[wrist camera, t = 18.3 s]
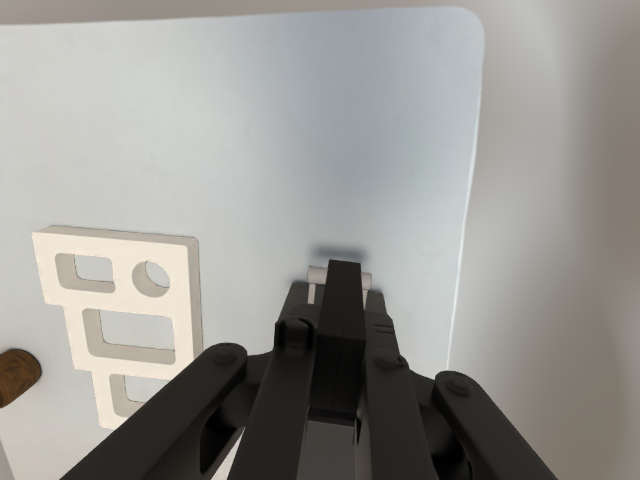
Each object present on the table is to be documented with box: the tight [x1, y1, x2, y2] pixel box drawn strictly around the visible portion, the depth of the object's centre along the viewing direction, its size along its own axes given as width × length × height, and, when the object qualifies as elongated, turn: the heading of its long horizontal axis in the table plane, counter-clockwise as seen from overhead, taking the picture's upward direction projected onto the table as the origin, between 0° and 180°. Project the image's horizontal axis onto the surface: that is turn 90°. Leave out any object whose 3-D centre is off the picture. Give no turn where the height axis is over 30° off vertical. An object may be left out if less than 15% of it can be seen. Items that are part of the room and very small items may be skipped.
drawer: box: [278, 266, 387, 421], centre depth 37 cm, size 18×10×9 cm, turn 175°
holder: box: [32, 226, 203, 430], centre depth 47 cm, size 45×18×3 cm, turn 177°
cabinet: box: [300, 415, 355, 480], centre depth 41 cm, size 15×12×11 cm
